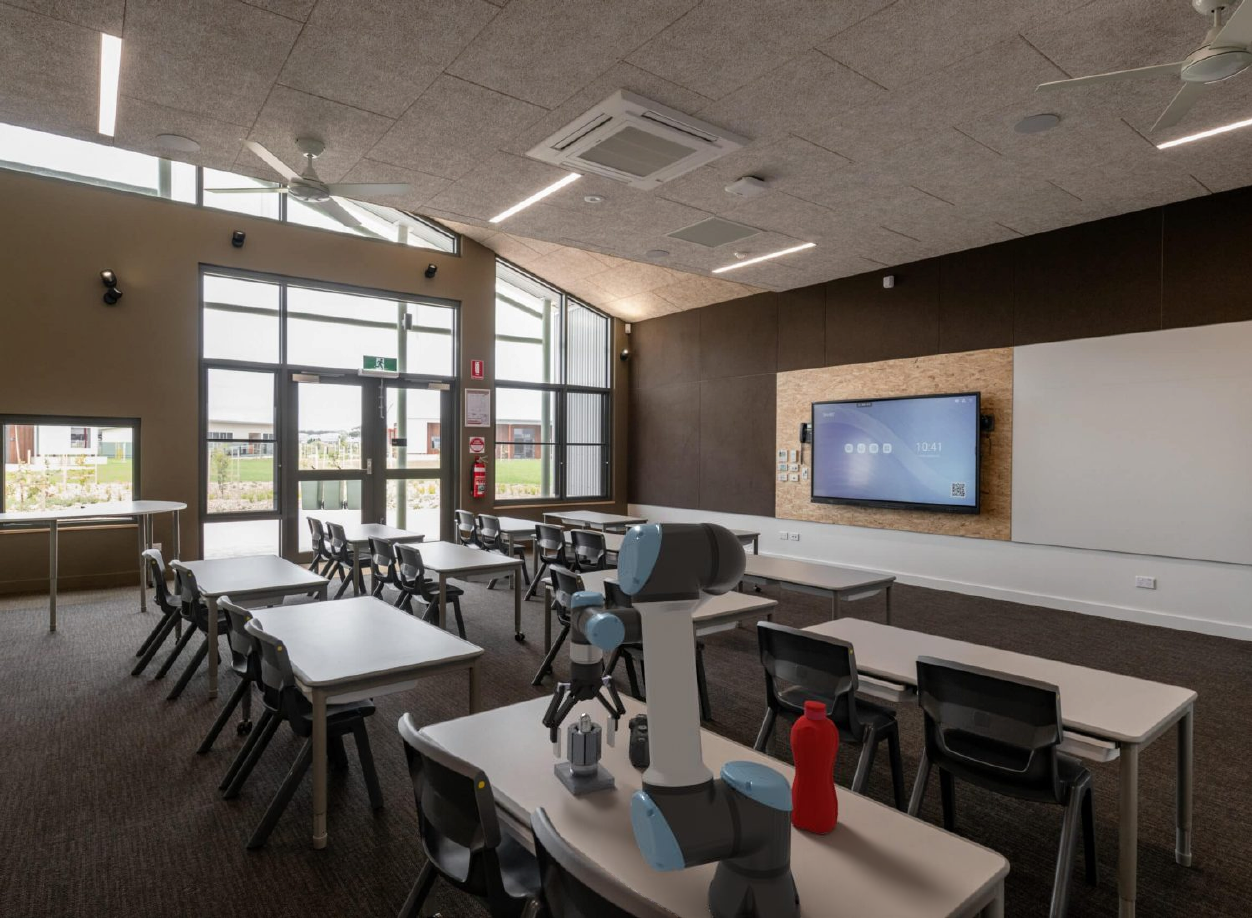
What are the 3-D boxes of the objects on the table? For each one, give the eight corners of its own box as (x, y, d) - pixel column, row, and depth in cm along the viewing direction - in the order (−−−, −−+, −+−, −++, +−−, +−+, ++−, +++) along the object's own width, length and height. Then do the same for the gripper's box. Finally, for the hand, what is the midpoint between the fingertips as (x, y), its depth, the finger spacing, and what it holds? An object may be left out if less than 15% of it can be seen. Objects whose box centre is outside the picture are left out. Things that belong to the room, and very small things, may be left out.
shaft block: (614, 786, 156) (615, 719, 156) (574, 795, 151) (575, 726, 151) (592, 764, 167) (593, 702, 166) (554, 772, 162) (555, 708, 162)
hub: (605, 761, 157) (606, 730, 157) (575, 767, 154) (576, 736, 154) (592, 748, 164) (592, 719, 164) (562, 754, 161) (563, 724, 160)
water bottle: (842, 815, 145) (845, 697, 145) (829, 840, 136) (832, 714, 135) (799, 803, 150) (802, 689, 150) (784, 826, 140) (786, 704, 140)
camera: (671, 764, 168) (672, 723, 168) (633, 769, 164) (634, 728, 164) (651, 742, 180) (652, 704, 180) (615, 747, 177) (616, 708, 177)
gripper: (626, 648, 168) (624, 735, 168) (529, 661, 156) (527, 753, 156) (641, 657, 161) (639, 747, 161) (541, 670, 150) (539, 767, 150)
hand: (584, 750), depth 159 cm, fingers open, 13 cm apart
